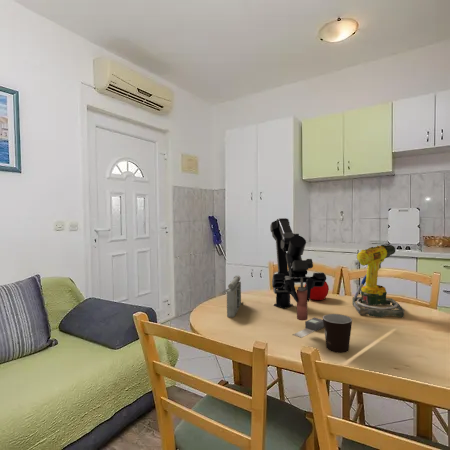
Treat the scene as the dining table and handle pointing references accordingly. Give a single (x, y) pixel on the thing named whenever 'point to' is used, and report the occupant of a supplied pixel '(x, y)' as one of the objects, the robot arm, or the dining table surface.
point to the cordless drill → (375, 285)
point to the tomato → (319, 292)
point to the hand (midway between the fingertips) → (302, 301)
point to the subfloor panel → (303, 333)
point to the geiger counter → (233, 296)
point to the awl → (302, 302)
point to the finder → (314, 324)
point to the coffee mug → (337, 332)
